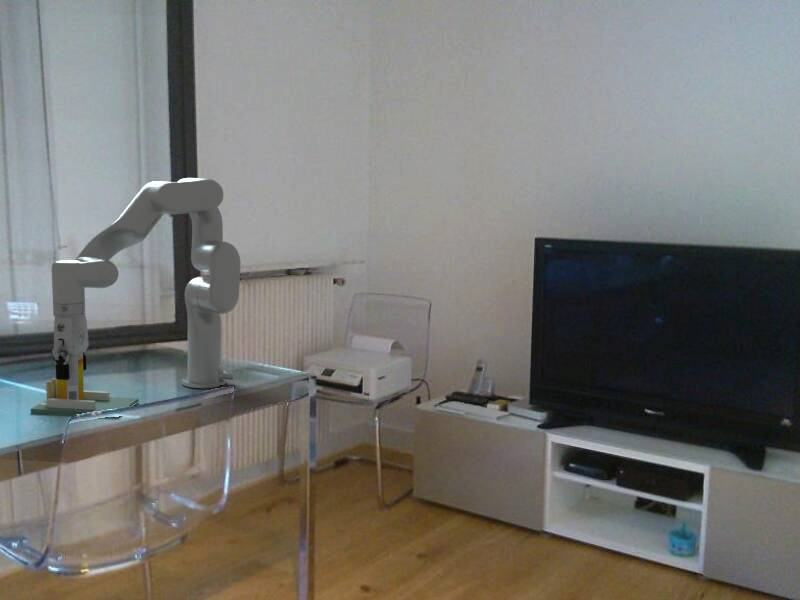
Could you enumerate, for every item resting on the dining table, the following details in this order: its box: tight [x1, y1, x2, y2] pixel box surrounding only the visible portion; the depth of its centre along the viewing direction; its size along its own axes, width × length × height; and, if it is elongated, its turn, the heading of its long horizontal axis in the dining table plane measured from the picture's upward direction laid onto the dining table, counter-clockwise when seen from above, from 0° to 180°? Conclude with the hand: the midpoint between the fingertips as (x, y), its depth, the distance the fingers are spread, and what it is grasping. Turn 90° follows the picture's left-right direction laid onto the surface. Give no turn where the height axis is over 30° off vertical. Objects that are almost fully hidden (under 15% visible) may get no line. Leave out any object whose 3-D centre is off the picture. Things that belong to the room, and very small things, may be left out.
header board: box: [30, 378, 140, 417], centre depth 202 cm, size 22×14×7 cm, turn 88°
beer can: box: [58, 350, 84, 400], centre depth 201 cm, size 6×6×15 cm
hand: (71, 374), depth 202 cm, fingers open, 9 cm apart
